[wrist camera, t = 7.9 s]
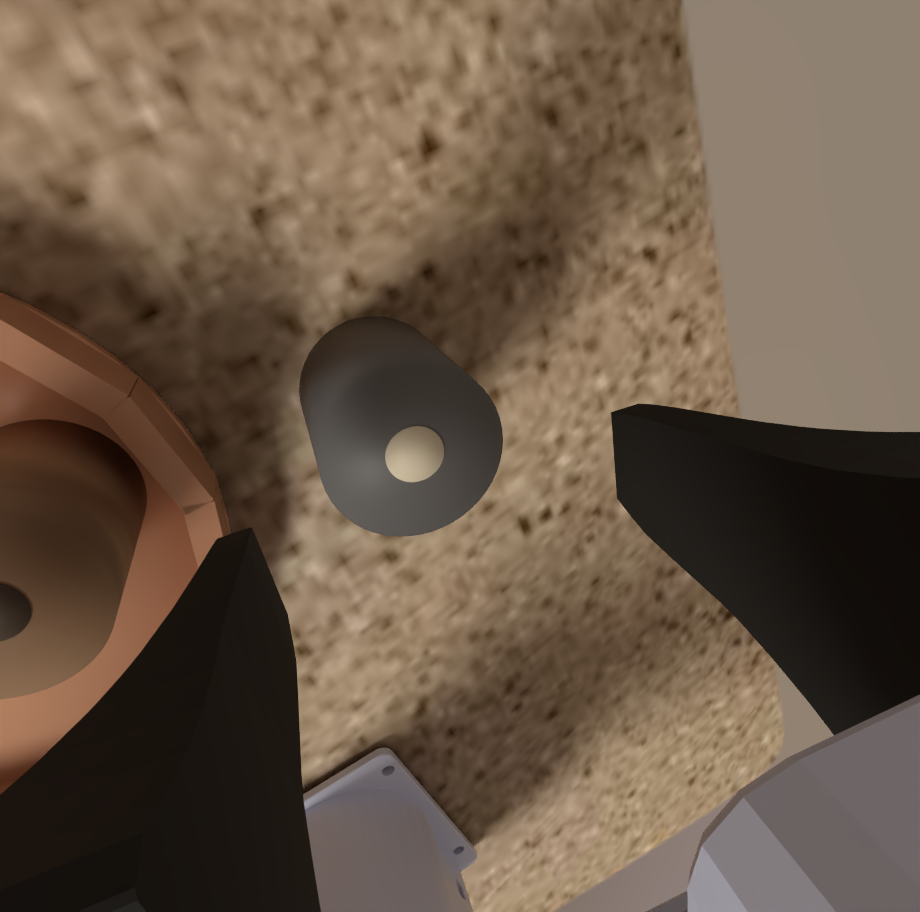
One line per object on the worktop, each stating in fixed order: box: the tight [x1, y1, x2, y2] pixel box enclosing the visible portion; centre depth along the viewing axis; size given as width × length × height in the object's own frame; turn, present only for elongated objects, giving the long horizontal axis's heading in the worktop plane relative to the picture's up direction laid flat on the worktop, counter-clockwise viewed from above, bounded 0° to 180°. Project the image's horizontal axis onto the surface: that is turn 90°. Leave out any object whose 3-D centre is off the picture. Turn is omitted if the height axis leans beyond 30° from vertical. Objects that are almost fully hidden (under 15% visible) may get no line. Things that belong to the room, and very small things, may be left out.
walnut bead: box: [0, 419, 147, 699], centre depth 14 cm, size 4×4×5 cm
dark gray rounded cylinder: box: [299, 317, 503, 536], centre depth 16 cm, size 4×4×5 cm
